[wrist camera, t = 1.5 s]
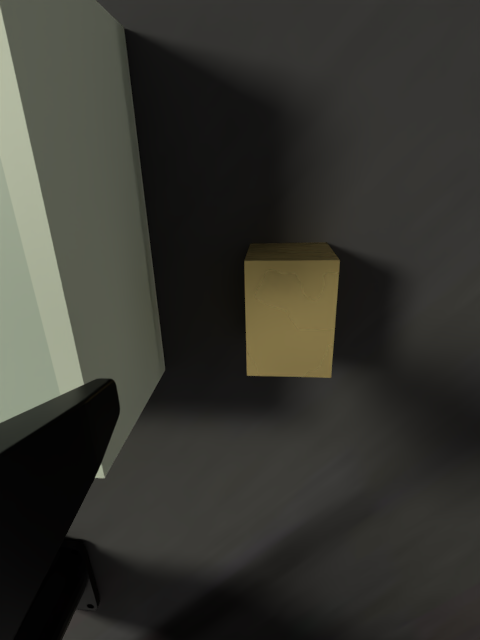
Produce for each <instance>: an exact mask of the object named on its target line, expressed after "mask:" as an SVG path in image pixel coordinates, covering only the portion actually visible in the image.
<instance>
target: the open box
mask: <svg viewBox="0 0 480 640" xmlns="http://www.w3.org/2000/svg"><path fill="white" fill-rule="evenodd" d="M164 371H165V362H164V354H163V346H162V337H161V329H160V321H159V313H158V304H157V296H156V288H155V280H154V271H153V263H152V255H151V247H150V238H149V230H148V222H147V214H146V205H145V197H144V189H143V181H142V172H141V164H140V156H139V148H138V139H137V131H136V123H135V114H134V106H133V98H132V90H131V81H130V73H129V65H128V57H127V48H126V40H125V32H124V27H123V26H122V25H121V24H120V23H119V22H118V21H117V20H116V19H115V18H114V17H112V16H111V15H110V14H109V13H108V12H107V11H106V10H105V9H104V8H103V7H102V6H101V5H100V4H99V3H98V2H97V1H96V0H0V423H1V422H3V421H6V420H8V419H10V418H12V417H14V416H16V415H19V414H21V413H23V412H25V411H27V410H29V409H32V408H34V407H36V406H38V405H40V404H43V403H45V402H47V401H49V400H51V399H53V398H56V397H58V396H60V395H62V394H64V393H66V392H69V391H71V390H73V389H75V388H77V387H80V386H82V385H84V384H86V383H88V382H90V381H93V380H95V379H98V378H110V379H113V380H114V381H115V383H116V386H117V392H118V397H119V403H120V414H119V418H118V420H117V423H116V426H115V428H114V431H113V434H112V436H111V439H110V442H109V445H108V447H107V450H106V453H105V455H104V458H103V461H102V463H101V465H100V468H99V470H98V472H97V474H96V476H95V478H105V477H106V475H107V473H108V471H109V470H110V468H111V466H112V464H113V462H114V461H115V459H116V457H117V455H118V454H119V452H120V450H121V448H122V446H123V445H124V443H125V441H126V439H127V437H128V436H129V434H130V432H131V430H132V429H133V427H134V425H135V423H136V421H137V420H138V418H139V416H140V414H141V413H142V411H143V409H144V407H145V405H146V404H147V402H148V400H149V398H150V396H151V395H152V393H153V391H154V389H155V388H156V386H157V384H158V382H159V380H160V379H161V377H162V375H163V373H164Z"/></svg>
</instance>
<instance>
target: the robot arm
mask: <svg viewBox="0 0 480 640" xmlns="http://www.w3.org/2000/svg"><path fill="white" fill-rule="evenodd" d="M119 414H120V403H119V397H118V392H117V386H116V383H115V381H114V380H113V379H110V378H98V379H95V380H93V381H90V382H88V383H86V384H84V385H82V386H80V387H77V388H75V389H73V390H71V391H69V392H66V393H64V394H62V395H60V396H58V397H56V398H53V399H51V400H49V401H47V402H45V403H43V404H40V405H38V406H36V407H34V408H32V409H29V410H27V411H25V412H23V413H21V414H19V415H16V416H14V417H12V418H10V419H8V420H6V421H3V422H1V423H0V640H62V639H63V636H64V634H65V632H66V630H67V628H68V625H69V623H70V621H71V619H72V617H73V615H74V612H75V610H76V609H78V610H90V611H94V610H96V609H97V608H98V606H99V603H100V599H99V595H98V592H97V588H96V584H95V581H94V577H93V574H92V570H91V566H90V563H89V559H88V555H87V552H86V548H85V546H84V544H83V543H81V542H78V541H68V540H64V538H65V536H66V534H67V532H68V530H69V528H70V526H71V524H72V522H73V520H74V518H75V516H76V514H77V512H78V510H79V508H80V506H81V504H82V502H83V500H84V498H85V496H86V494H87V492H88V490H89V488H90V486H91V485H92V483H93V481H94V479H95V476H96V474H97V472H98V470H99V468H100V465H101V463H102V461H103V458H104V455H105V453H106V450H107V447H108V445H109V442H110V439H111V436H112V434H113V431H114V428H115V426H116V423H117V420H118V418H119Z"/></svg>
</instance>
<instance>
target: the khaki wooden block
mask: <svg viewBox="0 0 480 640" xmlns="http://www.w3.org/2000/svg"><path fill="white" fill-rule="evenodd" d="M339 267H340V260H339V258H338V257H337V256H336V254H335V253H334V252H333V250H332V249H331V248H330V246H329V245H328V244H327V243H251V244H250V246H249V249H248V252H247V255H246V257H245V260H244V272H245V315H246V358H247V376H282V377H325V378H331V372H332V359H333V346H334V332H335V319H336V306H337V293H338V280H339Z"/></svg>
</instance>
